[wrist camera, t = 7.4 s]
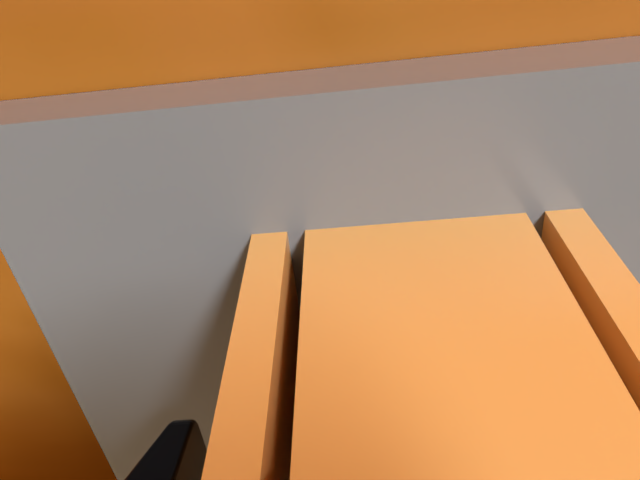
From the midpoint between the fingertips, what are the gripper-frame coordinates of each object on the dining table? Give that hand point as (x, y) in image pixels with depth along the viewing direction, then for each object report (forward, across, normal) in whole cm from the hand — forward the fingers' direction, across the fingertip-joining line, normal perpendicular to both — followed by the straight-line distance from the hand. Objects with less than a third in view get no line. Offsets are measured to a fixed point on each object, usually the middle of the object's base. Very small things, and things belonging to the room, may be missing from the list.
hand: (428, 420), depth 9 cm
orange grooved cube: (+2, 0, 0) cm, 2 cm away
